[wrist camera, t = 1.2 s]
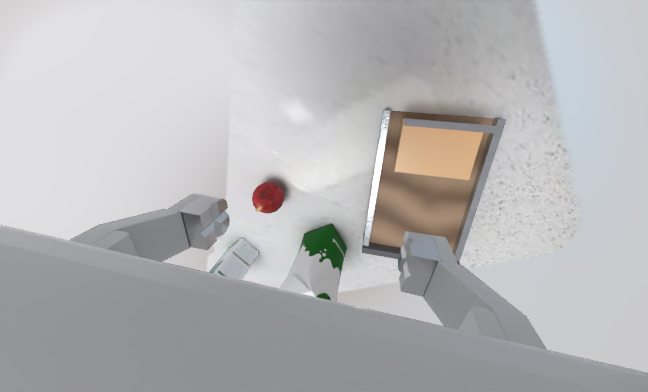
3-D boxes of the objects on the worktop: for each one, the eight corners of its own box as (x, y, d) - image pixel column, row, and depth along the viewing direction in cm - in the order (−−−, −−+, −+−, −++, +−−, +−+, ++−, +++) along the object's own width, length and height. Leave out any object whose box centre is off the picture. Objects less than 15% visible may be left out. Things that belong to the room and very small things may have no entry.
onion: (265, 172, 46) (246, 189, 39) (292, 183, 46) (277, 202, 39) (260, 195, 49) (240, 215, 42) (285, 206, 49) (269, 227, 42)
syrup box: (242, 236, 55) (202, 283, 43) (260, 252, 57) (227, 302, 44) (229, 246, 58) (188, 294, 45) (247, 262, 59) (212, 312, 47)
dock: (383, 108, 37) (384, 113, 32) (499, 117, 35) (520, 124, 29) (363, 233, 49) (362, 252, 44) (448, 247, 46) (457, 269, 41)
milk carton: (352, 249, 51) (339, 340, 33) (318, 260, 54) (289, 347, 37) (333, 218, 48) (308, 299, 30) (298, 231, 51) (258, 311, 34)
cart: (401, 111, 36) (406, 118, 30) (482, 118, 34) (504, 126, 28) (391, 165, 40) (393, 180, 34) (463, 173, 38) (478, 190, 32)
